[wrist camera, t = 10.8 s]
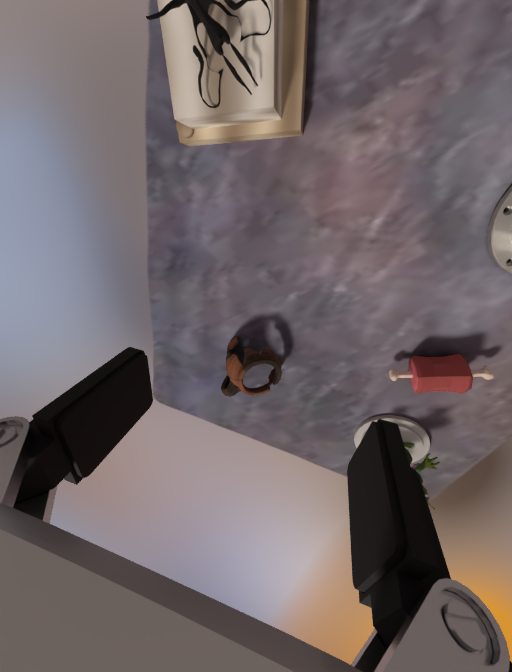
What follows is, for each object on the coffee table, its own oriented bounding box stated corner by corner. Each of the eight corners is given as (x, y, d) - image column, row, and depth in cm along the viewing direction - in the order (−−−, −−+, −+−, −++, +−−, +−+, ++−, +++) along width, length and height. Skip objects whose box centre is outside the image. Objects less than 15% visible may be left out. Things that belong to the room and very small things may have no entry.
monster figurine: (403, 469, 47) (419, 530, 38) (343, 445, 48) (345, 499, 39) (444, 432, 40) (475, 495, 32) (373, 404, 42) (385, 458, 33)
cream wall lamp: (311, -34, 22) (304, -120, 16) (303, 136, 28) (295, 118, 22) (174, 2, 25) (126, -58, 19) (192, 147, 31) (159, 134, 25)
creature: (290, 47, 20) (220, -73, 17) (290, 23, 16) (197, -141, 13) (228, 131, 24) (162, 46, 21) (216, 129, 20) (130, 22, 17)
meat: (489, 346, 32) (509, 376, 28) (478, 369, 35) (495, 399, 32) (387, 351, 36) (393, 378, 32) (385, 371, 39) (391, 398, 35)
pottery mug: (241, 319, 41) (253, 347, 34) (281, 341, 46) (299, 368, 39) (203, 370, 45) (208, 404, 38) (244, 385, 49) (255, 417, 43)
